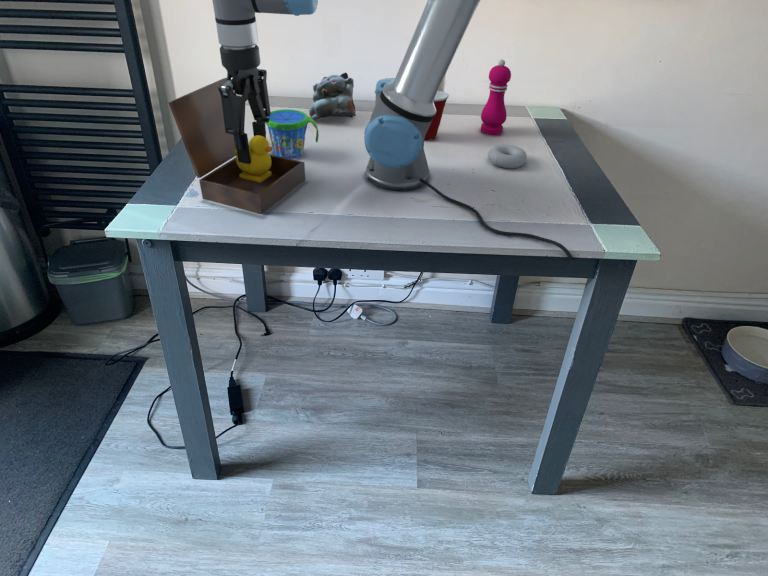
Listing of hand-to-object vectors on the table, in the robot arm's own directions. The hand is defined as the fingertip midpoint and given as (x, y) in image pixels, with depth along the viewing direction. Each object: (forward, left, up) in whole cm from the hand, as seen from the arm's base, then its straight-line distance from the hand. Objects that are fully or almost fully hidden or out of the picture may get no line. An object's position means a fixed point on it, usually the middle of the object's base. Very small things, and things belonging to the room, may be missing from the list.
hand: (253, 156), depth 122 cm
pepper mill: (-39, -62, -9) cm, 74 cm away
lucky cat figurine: (+7, -50, -9) cm, 51 cm away
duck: (0, 0, -5) cm, 5 cm away
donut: (-48, -43, -9) cm, 65 cm away
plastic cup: (-23, -49, -2) cm, 54 cm away
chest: (0, 0, -9) cm, 9 cm away
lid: (+10, 0, +5) cm, 11 cm away
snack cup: (+4, -21, -9) cm, 23 cm away
